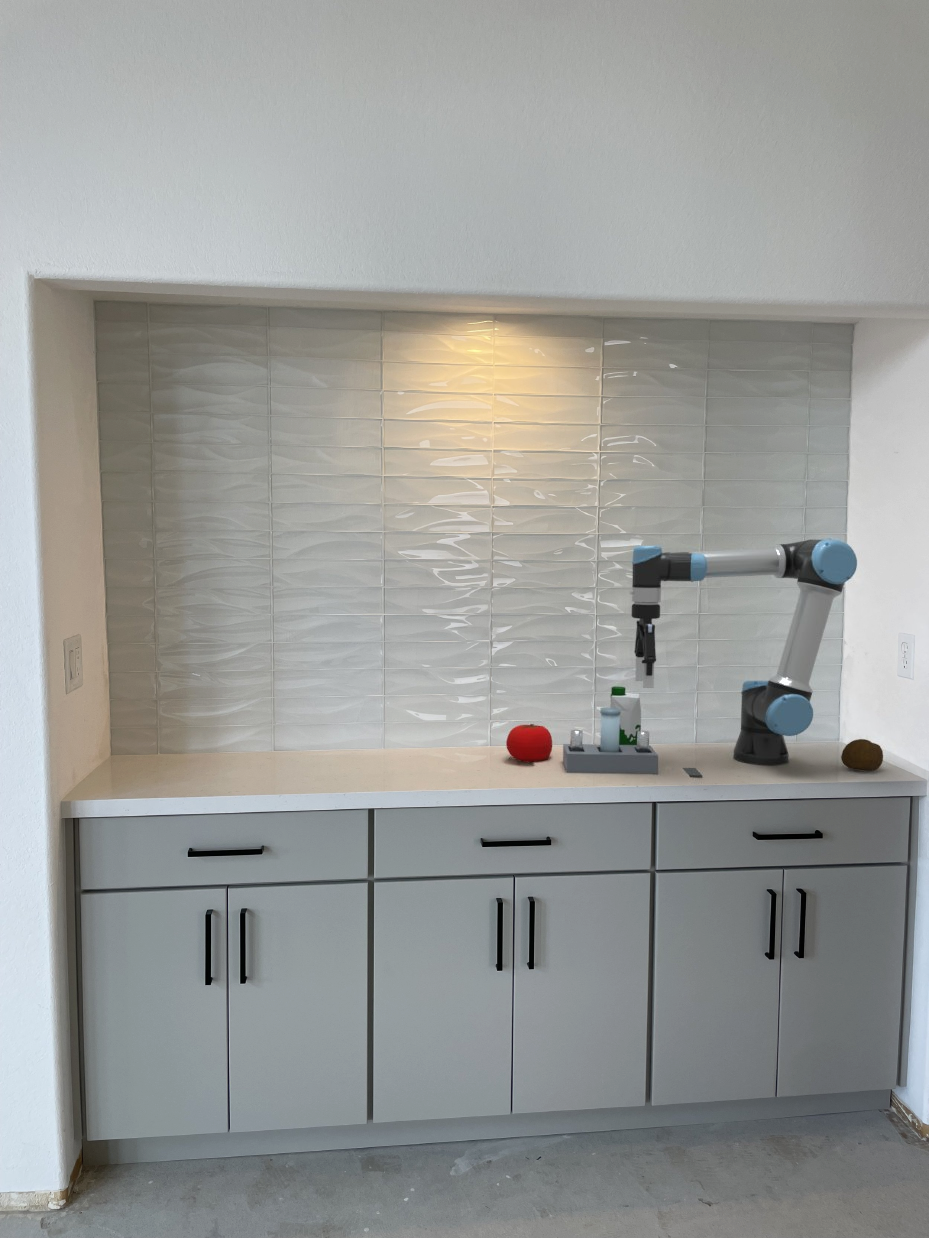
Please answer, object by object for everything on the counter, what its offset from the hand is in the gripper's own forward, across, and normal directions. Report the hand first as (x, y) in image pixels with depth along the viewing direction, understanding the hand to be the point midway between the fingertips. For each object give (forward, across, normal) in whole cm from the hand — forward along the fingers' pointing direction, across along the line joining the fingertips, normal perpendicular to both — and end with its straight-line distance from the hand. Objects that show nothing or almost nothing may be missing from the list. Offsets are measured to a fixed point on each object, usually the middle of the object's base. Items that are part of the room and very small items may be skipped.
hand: (644, 684), depth 242 cm
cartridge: (+23, 0, -9) cm, 25 cm away
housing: (+24, 0, -9) cm, 26 cm away
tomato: (+24, -11, -30) cm, 40 cm away
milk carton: (+24, -19, -2) cm, 31 cm away
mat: (+24, +1, +11) cm, 26 cm away
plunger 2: (+20, 0, 0) cm, 20 cm away
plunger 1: (+20, 0, -18) cm, 27 cm away
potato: (+25, -6, +62) cm, 67 cm away
